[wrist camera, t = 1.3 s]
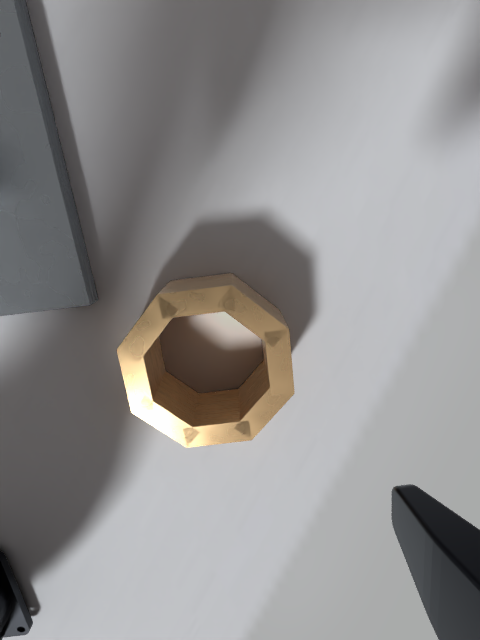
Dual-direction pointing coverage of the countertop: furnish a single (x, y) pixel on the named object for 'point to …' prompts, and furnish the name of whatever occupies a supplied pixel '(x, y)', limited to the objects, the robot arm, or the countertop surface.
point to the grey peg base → (34, 185)
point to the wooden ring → (212, 407)
